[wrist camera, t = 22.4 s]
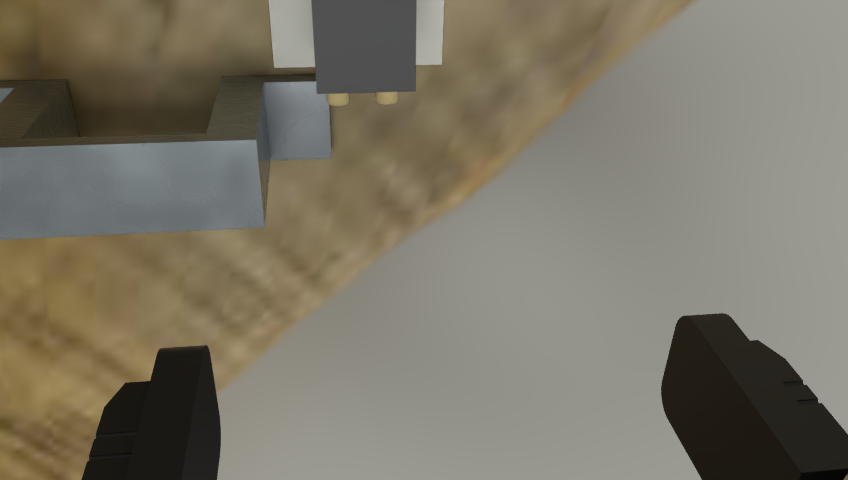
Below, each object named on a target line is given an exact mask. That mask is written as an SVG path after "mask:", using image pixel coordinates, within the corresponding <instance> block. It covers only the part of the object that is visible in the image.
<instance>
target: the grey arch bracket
mask: <svg viewBox="0 0 848 480" xmlns="http://www.w3.org/2000/svg"><path fill="white" fill-rule="evenodd" d="M328 158H331V136H330V112H329V104H327V99H326V94H317V89H316V74H313V75H264V76H222V77H221V81H220V84H219V88H218V92H217V95H216V99H215V103H214V106H213V110H212V114H211V118H210V121H209V125H208V129H207V132H206V133H199V134H165V135H131V136H98V137H80V136H79V131H78V127H77V123H76V118H75V114H74V109H73V105H72V100H71V96H70V92H69V87H68V83H67V80H20V81H0V240H1V239H23V238H45V237H67V236H89V235H111V234H133V233H155V232H177V231H199V230H221V229H243V228H265V218H266V206H267V194H268V182H269V171H270V160H299V159H328Z"/></svg>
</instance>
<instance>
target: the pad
mask: <svg viewBox="0 0 848 480" xmlns="http://www.w3.org/2000/svg"><path fill="white" fill-rule="evenodd" d="M269 11H270V23H271V36H272V49H273V61H274V68H292V67H315V55H314V38H313V21H312V4H311V0H269ZM443 17H444V0H417V9H416V65H442V43H443Z"/></svg>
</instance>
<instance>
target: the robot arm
mask: <svg viewBox="0 0 848 480" xmlns="http://www.w3.org/2000/svg"><path fill="white" fill-rule="evenodd" d="M661 396H662V403H663V408H664V411H665V414H666V416H667V418H668V420H669V422H670V424H671V425H672V427H673V429H674V431H675V433H676V434H677V436H678V438H679V440H680V441H681V443H682V445H683V447H684V449H685V450H686V452H687V454H688V456H689V457H690V459H691V461H692V463H693V464H694V466H695V468H696V470H697V471H698V473H699V475H700V477H701V478H702V480H848V434H847V433H846V432H845V431H844V429H843V428H842V427H841V426H840V425H839V424H838V422H837V421H836V420H835V419H834V417H833V416H832V415H831V414H830V413H829V412H828V410H827V409H826V408H825V407H824V405H823V404H822V403H818V398H817V397H816V396H815V395H814V393H813V392H812V391H811V390H810V389H809V387H808V386H807V385H804V384H803V380H802V379H801V378H800V376H799V375H798V374H797V373H796V371H795V370H794V369H793V368H792V367H791V365H790V364H789V363H788V362H787V361H786V359H785V358H783V357H782V356H780V355H779V354H777V353H776V352H774V351H773V350H771V349H770V348H769V347H767V346H765V345H764V344H763V343H761V342H760V341H758V340H754V341H749V339H748V338H747V337H746V336H745V334H744V333H743V332H742V331H741V329H740V328H739V327H738V325H737V324H736V323H735V322H734V320H733V319H732V318H731V317H730V316H729V315H727V314H723V313H722V314H707V315H691V316H682V317H681V318H680V319H679V320H678V322H677V324H676V327H675V331H674V335H673V339H672V343H671V347H670V351H669V355H668V360H667V364H666V368H665V372H664V376H663V380H662V386H661ZM220 446H221V428H220V415H219V409H218V402H217V395H216V389H215V383H214V376H213V370H212V363H211V357H210V352H209V348H208V346H207V345H204V346H189V347H173V348H161V349H159V351H158V353H157V357H156V361H155V365H154V369H153V373H152V377H151V381H145V382H130V383H125V384H124V385H123V386H122V387H121V389H120V390H119V391H118V392H117V393H116V394H115V396H114V397H113V398H112V399H111V400H110V401H109V402H108V404H107V405H106V406H105V407H104V410H103V413H102V416H101V420H100V423H99V426H98V429H97V432H96V439H94V442H93V445H92V448H91V451H90V455H89V461H88V462H87V464H86V467H85V471H84V474H83V477H82V480H217V474H218V466H219V458H220Z"/></svg>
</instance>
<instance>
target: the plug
mask: <svg viewBox="0 0 848 480" xmlns="http://www.w3.org/2000/svg"><path fill="white" fill-rule="evenodd" d="M311 4H312V21H313V38H314V55H315V72H316V89H317V94H326V99H327V104H329V105H332V106H343V105H346V104H348V103H349V93H375V92H376V102H378V103H380V104H394V103H396V102H398V92H407V91H416V9H417V0H311Z"/></svg>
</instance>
